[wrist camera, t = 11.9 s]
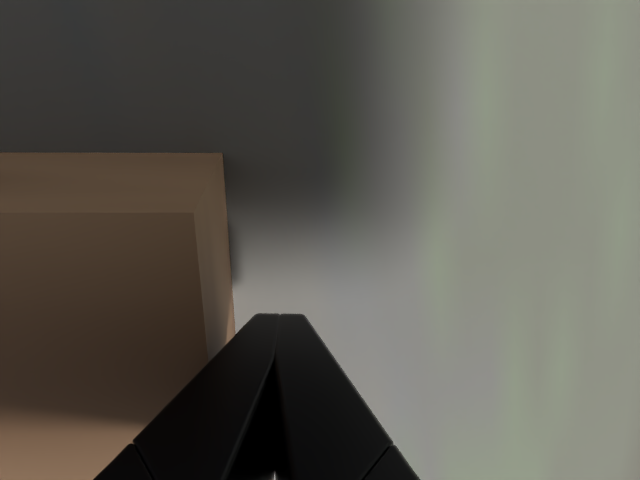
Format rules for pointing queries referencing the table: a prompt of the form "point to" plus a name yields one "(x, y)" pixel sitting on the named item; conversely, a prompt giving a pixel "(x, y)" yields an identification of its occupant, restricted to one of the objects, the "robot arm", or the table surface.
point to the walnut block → (104, 300)
